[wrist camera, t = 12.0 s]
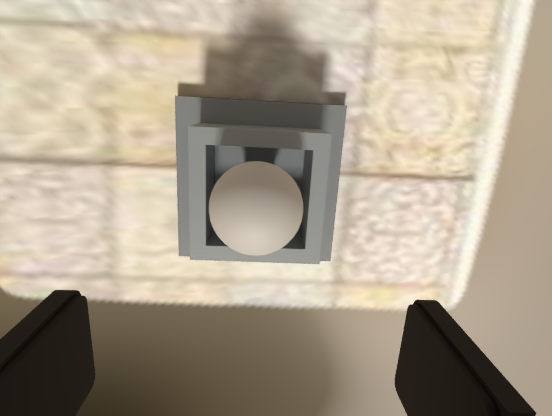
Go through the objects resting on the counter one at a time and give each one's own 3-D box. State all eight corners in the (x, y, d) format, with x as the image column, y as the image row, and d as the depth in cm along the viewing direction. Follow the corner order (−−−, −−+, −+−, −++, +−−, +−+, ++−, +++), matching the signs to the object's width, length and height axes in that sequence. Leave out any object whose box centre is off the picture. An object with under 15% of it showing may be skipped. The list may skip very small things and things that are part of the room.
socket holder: (177, 96, 29) (157, 93, 24) (344, 105, 30) (363, 106, 24) (181, 251, 33) (164, 282, 27) (328, 256, 34) (341, 287, 28)
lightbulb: (307, 172, 30) (330, 212, 20) (267, 226, 32) (268, 290, 21) (249, 130, 29) (240, 149, 19) (209, 188, 31) (180, 237, 20)
